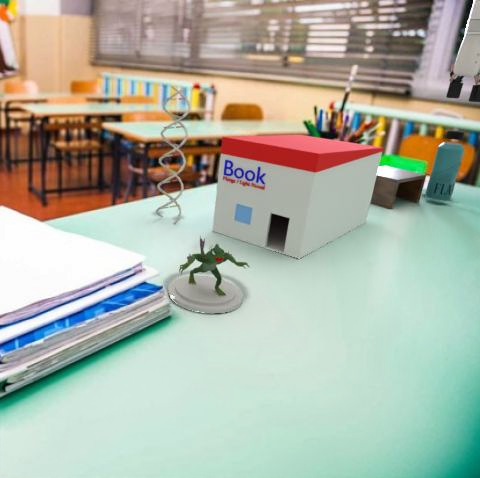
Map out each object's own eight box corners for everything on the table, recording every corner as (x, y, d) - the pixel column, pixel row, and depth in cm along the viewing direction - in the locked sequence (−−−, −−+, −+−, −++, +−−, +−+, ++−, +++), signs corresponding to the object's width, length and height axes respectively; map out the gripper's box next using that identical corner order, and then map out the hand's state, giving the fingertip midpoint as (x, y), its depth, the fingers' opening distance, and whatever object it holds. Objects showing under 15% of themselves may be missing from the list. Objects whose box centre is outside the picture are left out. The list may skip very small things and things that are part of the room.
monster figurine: (181, 317, 74) (187, 254, 70) (159, 281, 85) (163, 225, 81) (255, 311, 76) (264, 250, 72) (224, 277, 87) (231, 223, 83)
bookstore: (211, 231, 109) (221, 136, 102) (287, 202, 133) (300, 124, 125) (298, 260, 96) (318, 153, 88) (366, 222, 119) (386, 136, 111)
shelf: (419, 202, 137) (426, 174, 134) (390, 209, 130) (397, 179, 128) (378, 192, 147) (385, 165, 144) (349, 197, 140) (355, 169, 137)
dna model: (186, 224, 113) (198, 88, 102) (161, 226, 111) (171, 88, 100) (173, 215, 119) (183, 85, 108) (149, 217, 117) (157, 85, 106)
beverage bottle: (427, 204, 136) (447, 131, 129) (419, 198, 142) (438, 128, 135) (453, 207, 135) (475, 133, 127) (444, 200, 141) (464, 129, 133)
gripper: (524, 28, 114) (500, 104, 120) (477, 30, 130) (458, 97, 136) (491, 26, 114) (469, 102, 120) (448, 29, 130) (430, 96, 136)
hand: (463, 99), depth 128 cm, fingers open, 9 cm apart
